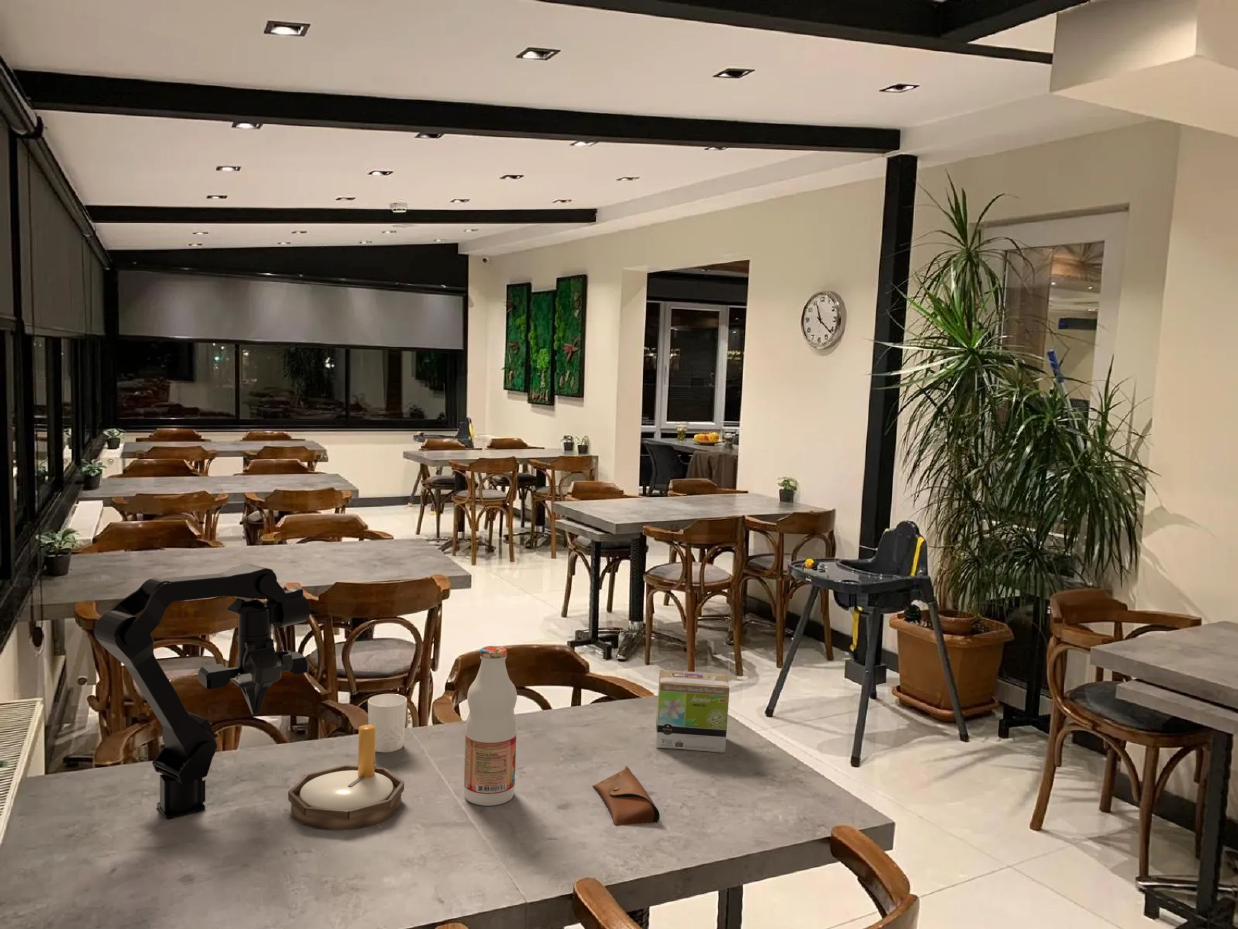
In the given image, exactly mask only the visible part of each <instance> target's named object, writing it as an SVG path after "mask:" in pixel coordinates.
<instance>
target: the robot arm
mask: <svg viewBox="0 0 1238 929" xmlns="http://www.w3.org/2000/svg"><path fill="white" fill-rule="evenodd" d="M220 597H222V598H223V597H236V598H235V600H234V601H233V602H232V603H231V604H230V605H229V606H228V607H227V608H226V610H227V611H228V612H231V613H234V614H236V615H237V614H238V618H237V619H238V624H237V625H238V627H237V628H238V631H237V632H238V635H236V642H237V644H238V645H237V646H238V651H237V653H238V657H236V664H237V666H234V667H228V668H227V667H226V666H224V665H223V664H222V663H215V664H209V665H203V666H201V667H200V668H199V670H198V672H197V681H198V682H199V684H201V685H202V686H203V687H204V688H205V689H206V690H207V689H208V690H213V689H220V688H224V687H227V686H228V684H230V682H232V683H233V684H234V685H235V686H237V687H238V688H239V689H240V690H241V692H242V693H243V696H244V699H245V701H246V703H247V706H248V709H249V711H250V713H251V715H252V716H255V715H258V714H259V711H260V709H261V707H262V704H263V702H264V699H265V696H266V693H267V691H268V690H269V689H270V687H271V686H272V685H273V684H274V683H275V682H276V683H277V682H278V681H279V680H281V679H282V673H285V672H290V673H291V674H292V675H295V676H296V675H301V674H305V673H308V672H309V671H310V662H309V659H308V658H307V657H306V656H304V655H303V654H301V653H300V652H298V651H291V650H290V649H288V650H282V651H281V650H279V651H276V649H275V643H274V639H273V638H272V626H273V627H275V628H279V629H280V628H284V627H288V626H292V625H296V624H300V623H301V624H302V623H305V622H307V621H308V620H309V618H310V614H311V607H310V605H309V604H310V603H309V601H308V598H307V597H306V596H305V595H304V589H303V588H299V587H293V588H290V589H286V590H284V588H283V587H282V586H281V584H280V583H279V582H278V578H277V574H276V572H274V570H273V569H271V568H268V567H265V566H260V565H255V564H251V563H245V564H240V565H237V566H233V567H230V568H229V569H226V570H225V571H223V572H219V573H210V574H208V573H207V574H198V575H186V576H178V577H177V576H176V577H175V576H174V577H163V578H161V577H160V578H159V577H153V578H149V579H147V580H145V581H144V582H143V583H142V585H141V586H139V588H138V589H136V590H135V591H134V592H132V593H131V594H129V595H127V596H125V597H124V598H123V599H121V600H119V601H117V603H116V604H115V605H114V606H113V607H112V608H111V609H110V610H109V611H107V612H106V613H104V614H103V615H102V616H100V617H99V619H98V620H97V622H96V624H95V628H94V629H93V635H94V637H95V639H96V640H97V641H98V643H99V644H100V645H101V646H102V647H103V648H105V650H106V651H107V652H108V653H109V654H111V655H112V656H113V657H114V658H116V659H117V660H118V661H119V662H120V663H122V664H123V665H124V666H125V668H126V669H127V671H128V673H129V674H130V676H131V677H132V680H134V682H135V684H136V686H137V687H138V689H139V690H140V692H141V693H142V695H143V697H144V699H145V700H146V702H147V703H148V705H149V707H150V708H151V710H152V711H153V713H154V716H156V718H157V720H158V722H159V723H160V724H161V726H162V734H161V736H162V737H161V738H162V741H163V745H164V746H163V748H161V750H160V751H159V752H158V754H157V756H155V758H154V759H153V760H152V762H151V763H152V766H153V769H154V771H155V772H156V773H158V774H159V773H160V775H159V802H157V803H156V807H157V808H158V809H159V811H160V813H161V814H162V815H163V816H164V818H165V819H172V818H177V817H181V816H184V815H188V814H192V813H193V814H194V813H196V812H201V811H204V810H206V805H205V803H206V780H205V778H206V777H207V776H208V774H209V772H210V768H211V765H212V761H213V758H214V756H215V754H216V751H217V750H218V742H217V740H216V738H218V737H219V736H218V735H217V733H215V732H214V731H213V729H212V727H211V724H210V722H209V720H208V719H207V718H204V717H202V716H200V715H197V714H194V713H193V712H189V711H188V710H187V708H186V707H185V705H184V703H183V702H182V700H181V698H180V696H179V694H178V693H177V691H176V690H175V688H174V686H173V685H172V683H171V681H170V680H169V678H168V677H167V674H166V672H165V671H164V669H163V668H162V666H161V665H160V663H159V661H158V659H157V658H156V656H155V653H154V651H155V650H154V647H155V640H154V638H153V635H152V632H153V631H155V629H156V628H157V627H158V626H159V624H160V622H161V621H162V619H163V616H164V614H165V612H166V609H167V608H168V607H169V606H170V605H171V603H179V602H184V601H195V600H204V599H213V598H220ZM243 598H245V599H249V600H245V599H243ZM261 600H265V601H261ZM140 612H141V613H140ZM139 613H140V614H139ZM136 615H137V616H136Z"/></svg>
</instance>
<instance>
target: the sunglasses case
mask: <svg viewBox="0 0 1238 929" xmlns="http://www.w3.org/2000/svg"><path fill="white" fill-rule="evenodd" d="M591 787H592V788H593V790H595V792H597V794H598V795H599V797H600V798H601V800H602V802H603V801H604V802H603V803H604V805H605V807H606V808H608V809H607V810H608V812H609V814H610V816H611V818H612V821H613V824H614V826H617V827H621V826H628V825H642V824H643V823H645V824H654V823H655V822H656V823H655V824H657V823H658V822H659V820H660V817H661V816H660V815H661V814H660V812H659V811H660V810H659V808H658V807H657V806H656V805H655V803H654V801H653V800H652V798H651V797H650V795H649V794H648V792H647V790H646V789H645V788H644V786H643V785H642V783H641V782H640V781H639V780H638V778H637V777H636V775H635V774H633V772H632V771H631V769H630V768H629V766H625V767H624V769H622V770H620V771H619V772H617V773H615V774H612V775H611V776H609V777H606V778H604V779H603V780H601V781H600V782H597V783H596V784H592V786H591ZM653 822H654V823H653ZM643 825H644V824H643Z"/></svg>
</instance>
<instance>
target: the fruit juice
mask: <svg viewBox="0 0 1238 929" xmlns="http://www.w3.org/2000/svg"><path fill="white" fill-rule="evenodd" d="M507 657H508V650H507V648H506V647H504V646H501V645H486V646H483V647H481V648H480V651H479V658H480V660H481V663H480V666H479V669H478V672H477V674H476V677H475V679H474V681H473V682H472V683H471V684H470V685H469V688H468V691H467V695H466V696H467V697H466V698H467V699H466V701H467V705H468V709H469V713H468V715H467V716H466V722H465V736H464V737H465V740H464V741H465V743H464V766H463V767H464V770H463V771H464V773H463V775H464V776H463V794H464V798H465V799H466V801H468V802H469V803H471V804H474V805H477V806H482V807H483V806H487V807H491V806H493V807H494V806H499V805H503V804H505V803H508V802H509V801H510V800H512V798H513V797H514V795H515V786H516V759H517V758H516V757H517V754H516V753H517V732H518V730H517V728H518V727H517V726H518V725H517V716H516V715H515V707H516V704H517V700H518V693H517V688H516V686H515V684H514V683H513V682H512V680H511V679H510V676H509V674H508V670H507V666H506V659H507Z"/></svg>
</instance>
